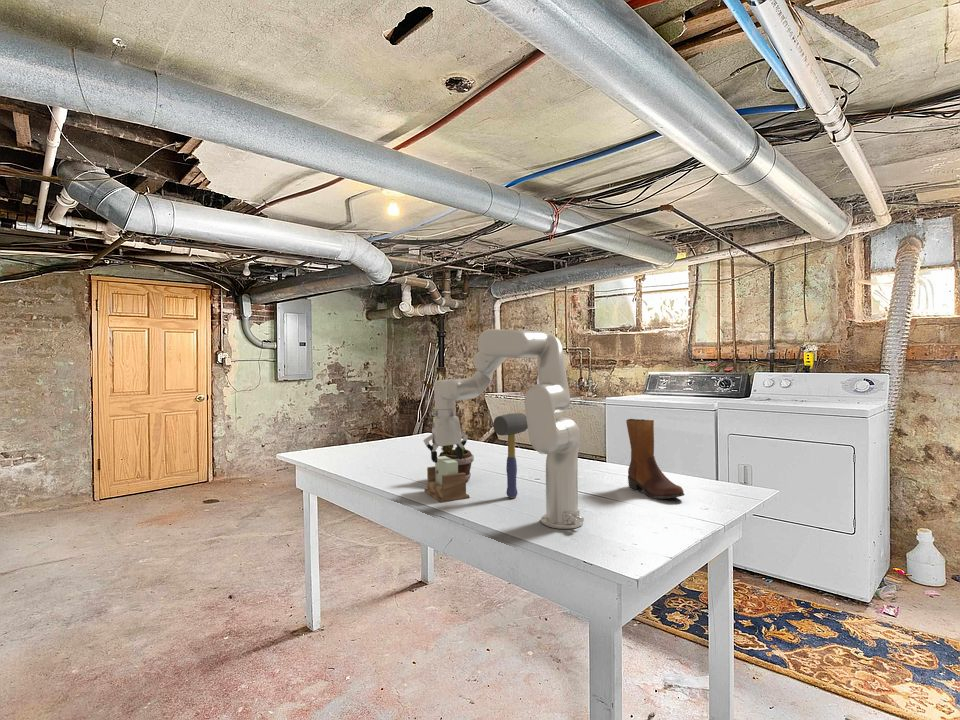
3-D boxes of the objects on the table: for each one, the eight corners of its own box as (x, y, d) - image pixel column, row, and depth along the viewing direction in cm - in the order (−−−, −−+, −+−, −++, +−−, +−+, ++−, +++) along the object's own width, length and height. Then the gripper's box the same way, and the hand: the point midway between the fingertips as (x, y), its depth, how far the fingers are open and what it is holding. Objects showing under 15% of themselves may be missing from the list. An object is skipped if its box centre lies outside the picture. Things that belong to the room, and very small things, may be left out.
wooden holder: (469, 498, 180) (469, 472, 180) (440, 502, 175) (440, 476, 175) (451, 487, 194) (451, 464, 194) (424, 491, 189) (424, 467, 189)
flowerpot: (475, 476, 211) (475, 429, 210) (472, 486, 195) (471, 435, 195) (441, 476, 212) (440, 429, 212) (434, 486, 197) (434, 435, 196)
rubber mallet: (508, 503, 172) (506, 416, 172) (492, 499, 178) (491, 414, 177) (531, 496, 181) (530, 412, 181) (515, 492, 187) (514, 411, 186)
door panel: (458, 495, 180) (457, 461, 180) (446, 497, 178) (446, 463, 178) (445, 487, 191) (444, 455, 190) (434, 489, 189) (433, 457, 188)
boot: (689, 502, 171) (688, 423, 171) (666, 505, 169) (665, 424, 168) (644, 484, 195) (643, 415, 195) (623, 486, 193) (623, 416, 192)
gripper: (426, 416, 177) (428, 465, 177) (471, 412, 184) (473, 459, 184) (419, 414, 183) (421, 461, 183) (462, 411, 191) (464, 456, 191)
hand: (447, 460), depth 184 cm, fingers open, 9 cm apart
